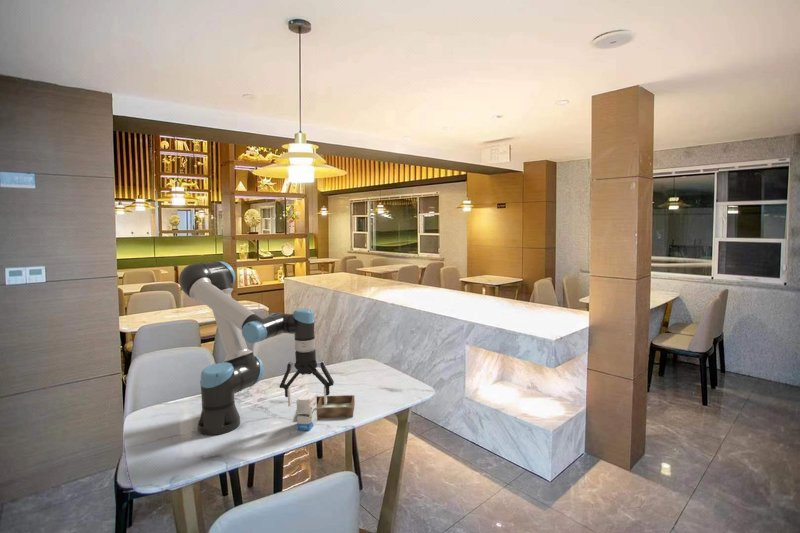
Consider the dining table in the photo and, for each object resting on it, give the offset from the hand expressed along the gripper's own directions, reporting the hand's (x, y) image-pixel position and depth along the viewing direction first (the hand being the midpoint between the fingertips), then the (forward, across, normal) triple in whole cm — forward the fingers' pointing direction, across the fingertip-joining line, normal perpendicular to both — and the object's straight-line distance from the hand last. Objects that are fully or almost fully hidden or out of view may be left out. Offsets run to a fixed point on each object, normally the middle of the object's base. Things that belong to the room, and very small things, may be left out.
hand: (307, 404), depth 168 cm
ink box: (+9, -1, 0) cm, 9 cm away
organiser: (+8, +6, +13) cm, 17 cm away
